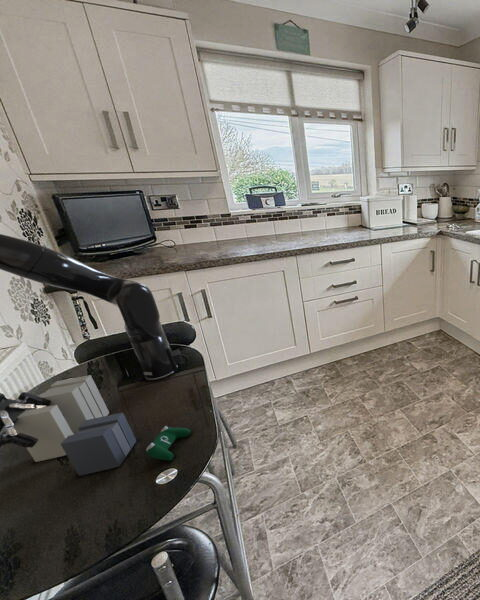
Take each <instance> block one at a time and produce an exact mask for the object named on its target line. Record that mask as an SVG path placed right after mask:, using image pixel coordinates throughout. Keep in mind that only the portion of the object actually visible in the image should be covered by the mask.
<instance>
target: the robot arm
mask: <svg viewBox="0 0 480 600" xmlns="http://www.w3.org/2000/svg"><path fill="white" fill-rule="evenodd" d="M0 270H1V271H3V272H6V273H9V274H13V275H16V276H18V277H21V278H24V279H27V280H30V281H33V282H37V283H40V284H43V285H46V286H51V287H54V288H58V289H59V288H60V289H65V290H70V291H75V292H78V293H79V292H80V293H83V294H86V295H90V296H92V297H95V298H98V299H101V300H102V301H105V302H107V303H109V304H111V305H113V306H116V307H117V308H118V310H119V311H120V314H121V317H122V320H123V322H124V330H125V333H126V335H127V337H128V340H129V342H130V344H131V346H132V349H133V352H134V353H135V356H136V358H137V361H138V363H139V365H140V368H141V371H142V373H143V375H144V378H145V379H146V381H149V382H152V381H159V380H162V379H165V378H168V377H170V376H172V375H174V374H175V373H177V372H179V366H178V363H179V362H182V361H183V360H182V358H184V359H185V365H188V364H189V363H190V358H189V356H188V355H186V354H184V353H181V351H180V349H179V348H178V349H174V350H172V346H171V344H170V342H169V341H168V339H167V338H168V337H167V335H166V333H165V330H164V328H163V325H162V322H161V320H160V317H161V316H160V311H159V308H158V305H157V303H156V299H155V297H154V295H153V292H152V290H151V289H150V288H149V287H148V286H146V285H145V284H143V283H140V282H137V281H133V280H129V279H125V278H123V277H118V276H114V275H111V274H108V273H104V272H102V271H99V270H97V269H95V268H93V267H91V266H89V265H87V264H86V263H83V262H82V261H80V260H78V259H76V258H74V257H71V256H69V255H67V254H64V253H62V252H60V251H58V250H55V249H52V248H49V247H47V246H44V245H42V244H39V243H36V242H32V241H29V240H26V239H22V238H18V237H15V236H10V235H6V234H1V233H0ZM37 402H39V403H42V405H41V404H38V403H37ZM50 403H51V401H50V400H47V399H45V398H42V397H39V395H36V394H32V393H31V392H26V391H23V392H20V394H19V395H18V397H16V398H15V399H9V398H7V397H6V396H5V394H4V393H2V392H0V448H2V446H4V445H5V446H6V445H7V444H13V445H15V446H19V447H22V448H26V447H27V448H28V447H30V448H31V447H33V446H34V445H35V444H36V443H37V442H38V438H35V437H32V436H29V435H26V434H23V433H19V434H17V432H16V430H15V429H14V424H15V423H16V421H17V420H18V418H17V417H18V416H19V415H21V414H22V413H23V412H24V411H26V410H33V409H38V408H43V407H48V406H49V404H50ZM62 415H63V414H62ZM63 417H64V415H63ZM27 448H26V449H27Z"/></svg>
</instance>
